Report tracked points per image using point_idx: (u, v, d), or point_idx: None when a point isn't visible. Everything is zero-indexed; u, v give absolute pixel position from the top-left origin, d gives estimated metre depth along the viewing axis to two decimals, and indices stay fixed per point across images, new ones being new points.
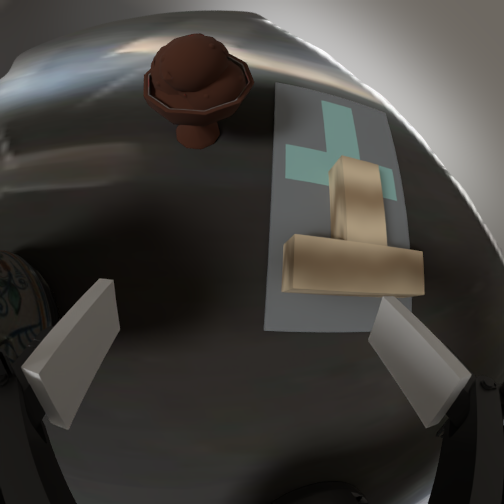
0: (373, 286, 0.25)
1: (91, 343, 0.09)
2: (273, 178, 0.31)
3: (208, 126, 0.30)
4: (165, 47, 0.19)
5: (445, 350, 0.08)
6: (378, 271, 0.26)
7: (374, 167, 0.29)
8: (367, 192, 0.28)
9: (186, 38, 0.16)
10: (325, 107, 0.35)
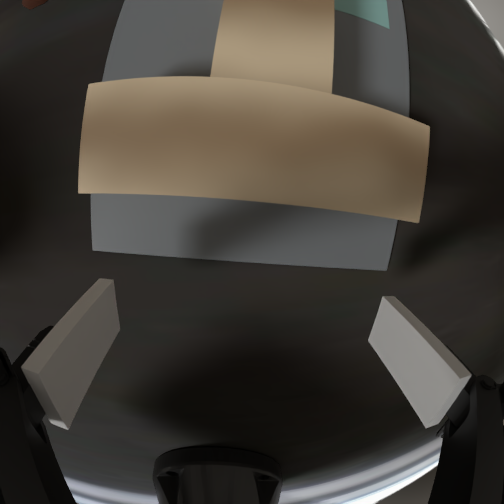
0: (274, 186, 0.11)
1: (91, 343, 0.09)
2: (126, 1, 0.10)
3: None
4: None
5: (445, 350, 0.08)
6: (294, 151, 0.10)
7: None
8: None
9: None
10: None
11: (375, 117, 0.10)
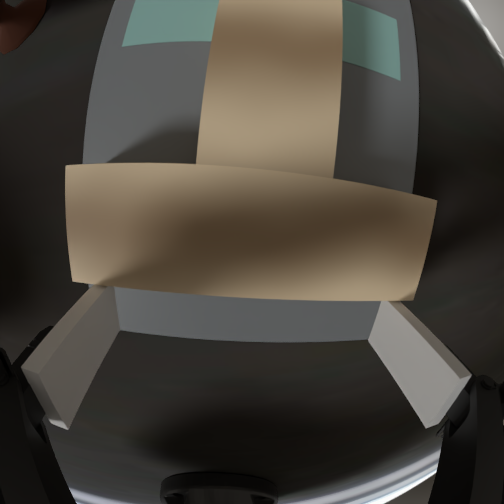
0: (267, 284, 0.11)
1: (91, 343, 0.09)
2: (100, 54, 0.10)
3: (22, 13, 0.07)
4: None
5: (445, 350, 0.08)
6: (288, 248, 0.10)
7: None
8: (289, 29, 0.08)
9: None
10: None
11: (379, 200, 0.10)
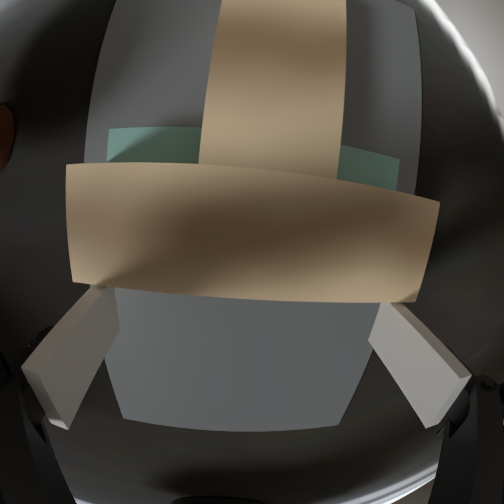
0: (269, 285, 0.11)
1: (91, 343, 0.09)
2: None
3: None
4: None
5: (445, 350, 0.08)
6: (291, 249, 0.10)
7: None
8: (293, 29, 0.08)
9: None
10: None
11: (382, 202, 0.10)
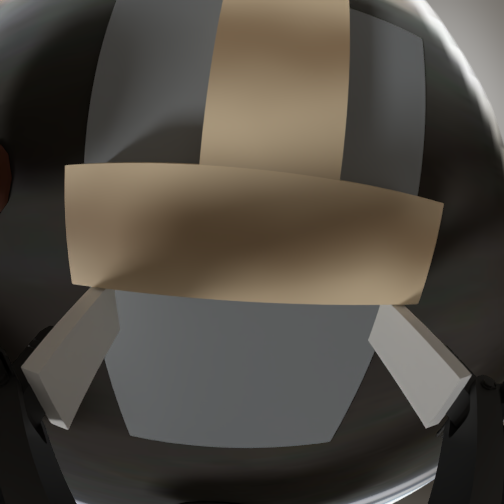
0: (271, 287, 0.11)
1: (91, 343, 0.09)
2: None
3: None
4: None
5: (445, 350, 0.08)
6: (293, 251, 0.10)
7: None
8: (295, 27, 0.07)
9: None
10: None
11: (386, 203, 0.10)
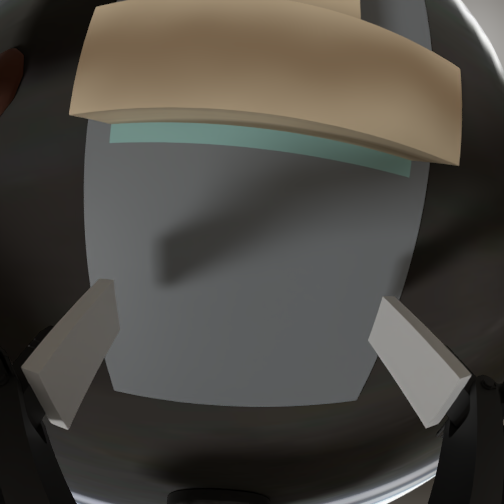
0: (303, 101, 0.08)
1: (91, 343, 0.09)
2: (87, 149, 0.12)
3: None
4: None
5: (445, 350, 0.08)
6: (325, 66, 0.08)
7: None
8: None
9: None
10: None
11: (407, 48, 0.07)
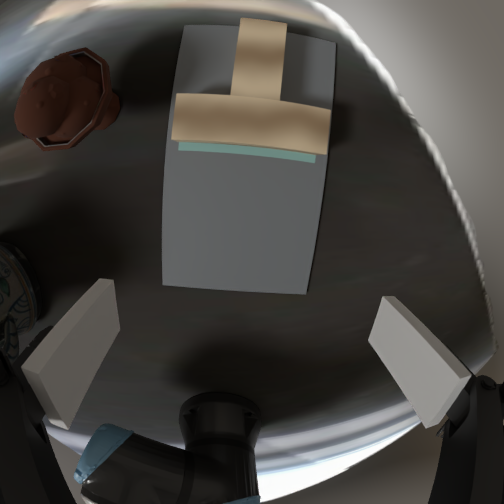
0: (255, 138, 0.26)
1: (91, 343, 0.09)
2: (166, 152, 0.29)
3: None
4: (20, 94, 0.14)
5: (445, 350, 0.08)
6: (263, 124, 0.25)
7: (280, 26, 0.22)
8: (263, 49, 0.23)
9: (20, 103, 0.13)
10: None
11: (300, 108, 0.25)
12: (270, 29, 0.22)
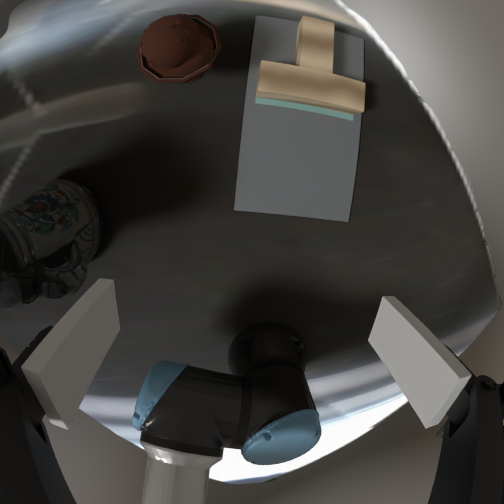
0: (317, 96, 0.33)
1: (91, 343, 0.09)
2: (245, 103, 0.37)
3: None
4: (147, 34, 0.22)
5: (445, 350, 0.08)
6: (322, 87, 0.33)
7: (329, 24, 0.29)
8: (320, 39, 0.30)
9: (159, 36, 0.21)
10: None
11: (345, 80, 0.33)
12: (323, 25, 0.29)
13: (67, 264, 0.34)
